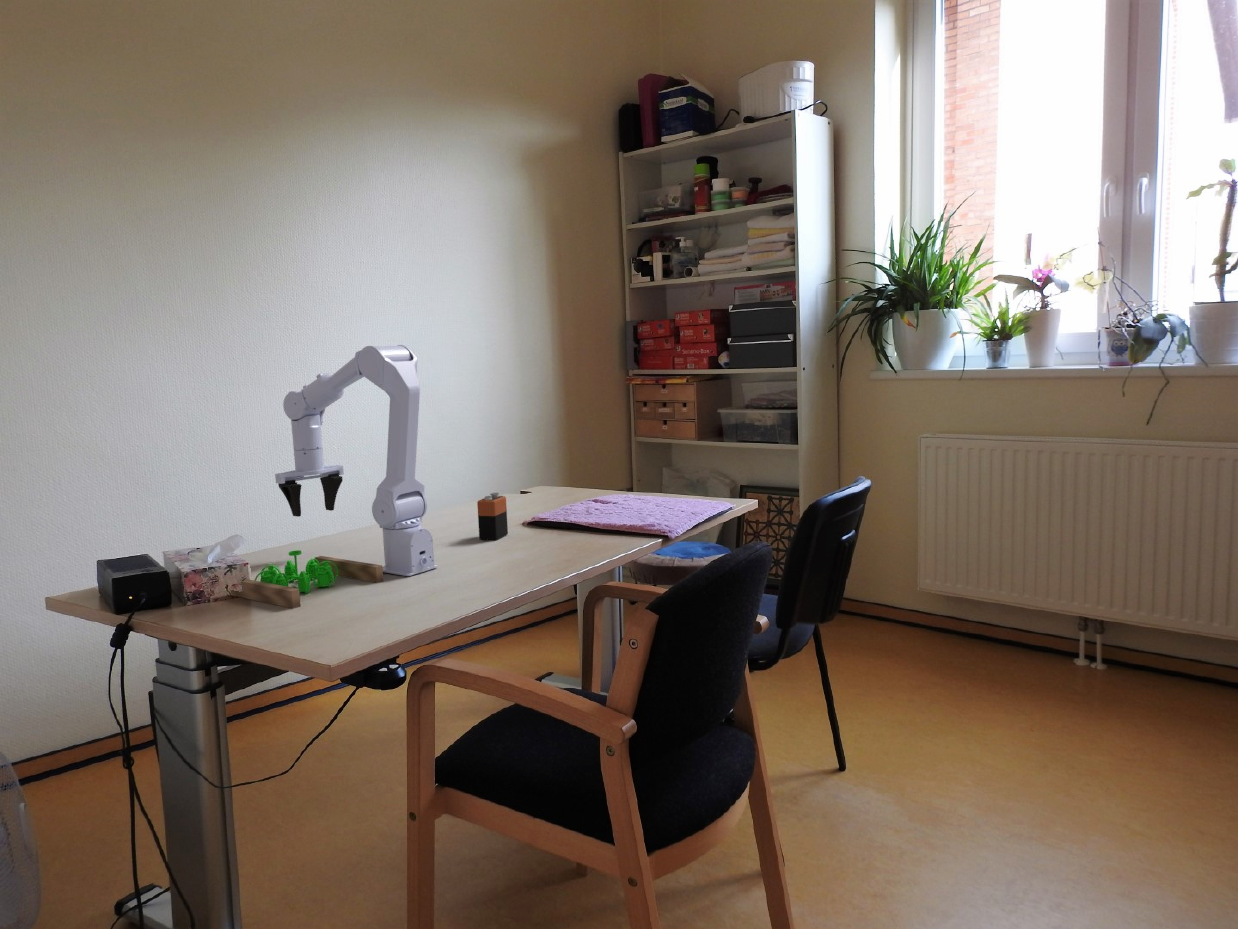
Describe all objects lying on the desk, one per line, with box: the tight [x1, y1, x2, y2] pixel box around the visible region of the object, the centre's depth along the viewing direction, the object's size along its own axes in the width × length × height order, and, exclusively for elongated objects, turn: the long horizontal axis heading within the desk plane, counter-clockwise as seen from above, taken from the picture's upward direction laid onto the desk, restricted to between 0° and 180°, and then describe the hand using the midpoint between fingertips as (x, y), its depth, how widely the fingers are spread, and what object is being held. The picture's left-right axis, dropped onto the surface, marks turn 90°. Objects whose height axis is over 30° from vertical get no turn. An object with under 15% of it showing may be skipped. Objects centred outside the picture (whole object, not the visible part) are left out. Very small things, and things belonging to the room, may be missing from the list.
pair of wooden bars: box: [230, 555, 384, 609], centre depth 167 cm, size 18×20×3 cm
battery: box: [476, 492, 509, 542], centre depth 205 cm, size 4×7×10 cm, turn 162°
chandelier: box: [254, 549, 338, 595], centre depth 168 cm, size 15×15×7 cm
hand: (313, 513), depth 189 cm, fingers open, 7 cm apart
